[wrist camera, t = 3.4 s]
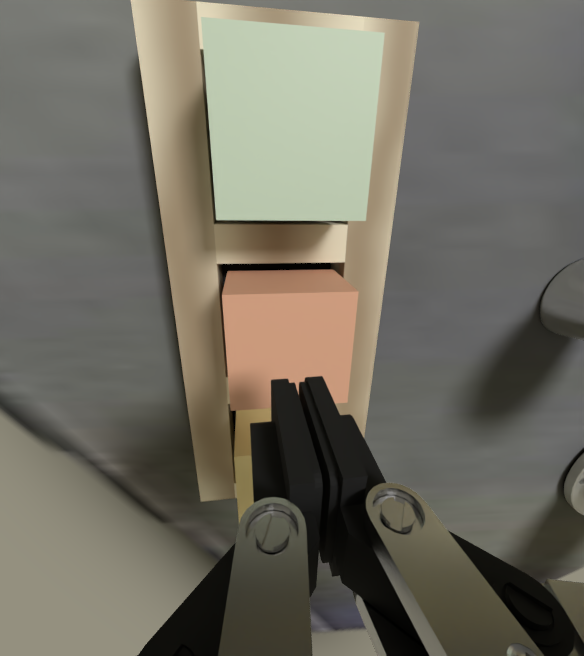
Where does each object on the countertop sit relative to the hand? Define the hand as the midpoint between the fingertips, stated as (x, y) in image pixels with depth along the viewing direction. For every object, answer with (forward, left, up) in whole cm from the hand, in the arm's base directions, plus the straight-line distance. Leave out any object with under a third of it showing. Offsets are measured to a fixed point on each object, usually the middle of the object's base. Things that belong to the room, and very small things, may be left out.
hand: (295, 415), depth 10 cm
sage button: (-1, -9, -9) cm, 13 cm away
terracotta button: (0, 0, -9) cm, 9 cm away
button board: (0, 0, -12) cm, 12 cm away
